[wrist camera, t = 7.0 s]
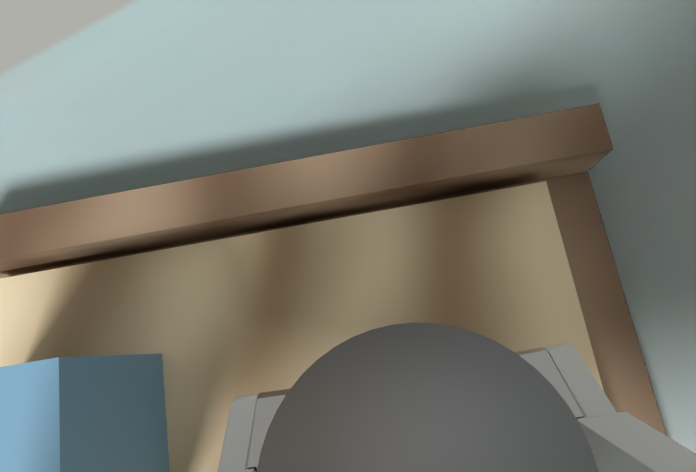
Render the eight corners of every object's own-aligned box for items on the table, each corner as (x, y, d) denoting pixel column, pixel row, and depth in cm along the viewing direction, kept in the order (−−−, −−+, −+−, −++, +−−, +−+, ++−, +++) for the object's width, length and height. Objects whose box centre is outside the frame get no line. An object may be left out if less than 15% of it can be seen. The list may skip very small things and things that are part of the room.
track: (567, 140, 18) (598, 103, 15) (709, 624, 14) (784, 690, 11) (-30, 248, 19) (-99, 232, 16) (-45, 724, 15) (-138, 805, 13)
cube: (161, 353, 16) (58, 357, 11) (172, 520, 14) (62, 609, 10) (18, 377, 16) (-148, 392, 11) (16, 544, 15) (-169, 642, 10)
